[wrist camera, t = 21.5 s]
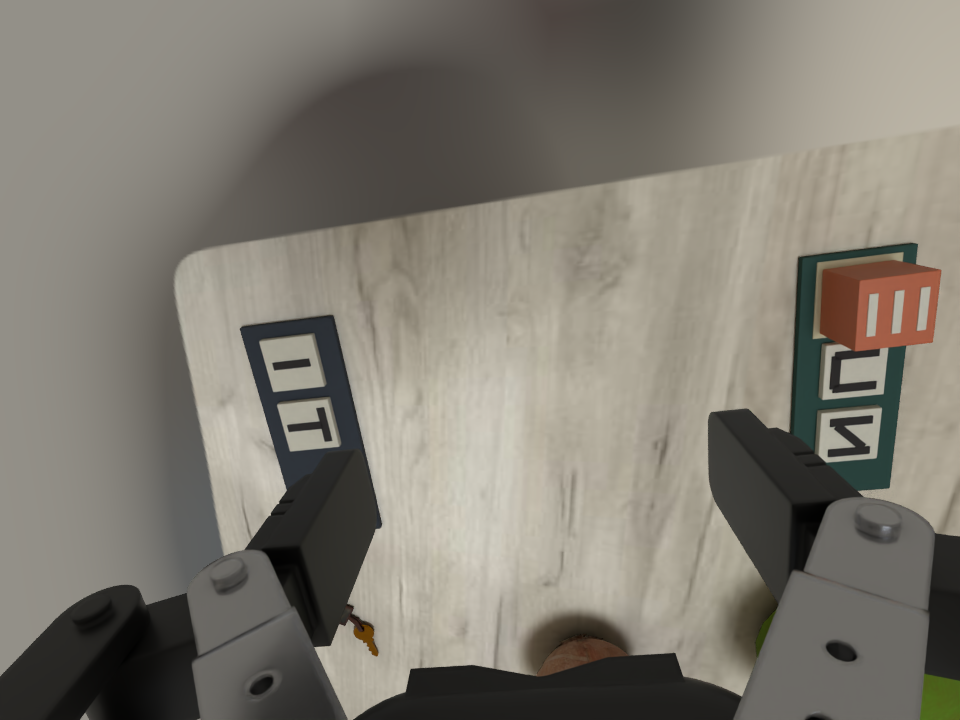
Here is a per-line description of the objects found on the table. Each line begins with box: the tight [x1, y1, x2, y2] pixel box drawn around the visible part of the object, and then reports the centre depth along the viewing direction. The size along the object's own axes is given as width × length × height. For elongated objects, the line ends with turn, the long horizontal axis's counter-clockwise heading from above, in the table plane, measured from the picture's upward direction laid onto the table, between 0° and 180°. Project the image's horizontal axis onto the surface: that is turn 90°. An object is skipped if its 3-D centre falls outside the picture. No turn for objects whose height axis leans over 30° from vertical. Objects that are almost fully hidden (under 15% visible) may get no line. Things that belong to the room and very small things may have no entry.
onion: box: [536, 634, 629, 676], centre depth 43 cm, size 10×9×10 cm
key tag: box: [339, 605, 378, 656], centre depth 47 cm, size 8×3×1 cm, turn 50°
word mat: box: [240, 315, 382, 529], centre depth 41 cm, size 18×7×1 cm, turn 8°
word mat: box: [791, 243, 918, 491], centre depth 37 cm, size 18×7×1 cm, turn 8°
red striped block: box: [820, 260, 941, 351], centre depth 33 cm, size 4×4×4 cm
